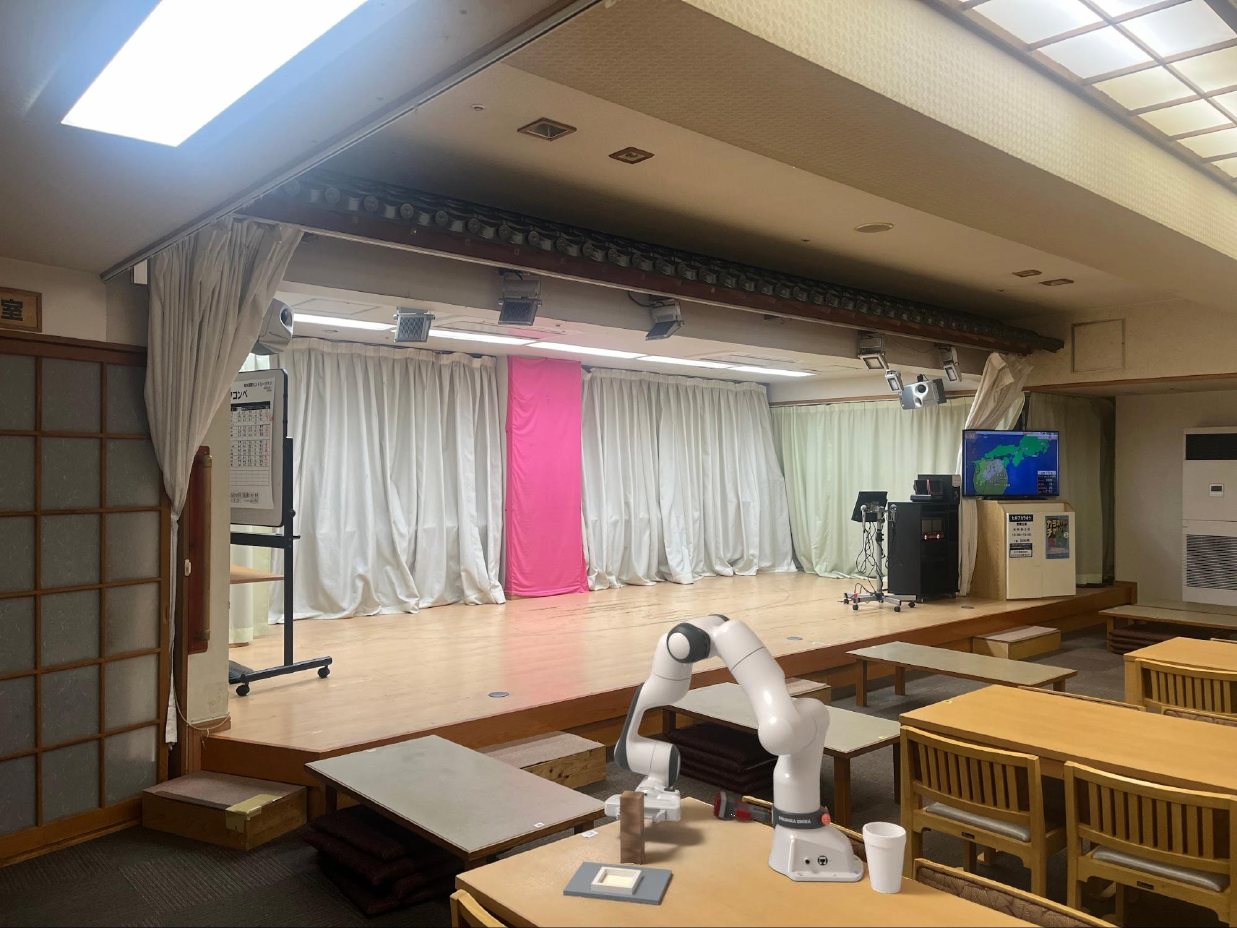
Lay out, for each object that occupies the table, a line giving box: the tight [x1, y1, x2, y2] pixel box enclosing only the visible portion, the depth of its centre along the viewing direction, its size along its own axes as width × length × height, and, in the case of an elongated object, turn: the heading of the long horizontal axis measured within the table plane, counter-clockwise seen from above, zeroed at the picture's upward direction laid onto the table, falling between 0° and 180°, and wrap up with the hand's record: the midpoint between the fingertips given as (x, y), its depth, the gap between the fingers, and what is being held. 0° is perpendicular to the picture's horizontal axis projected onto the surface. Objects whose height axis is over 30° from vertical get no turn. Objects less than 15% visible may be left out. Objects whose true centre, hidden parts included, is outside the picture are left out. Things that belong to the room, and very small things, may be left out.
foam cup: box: [862, 821, 907, 895], centre depth 196 cm, size 10×9×13 cm
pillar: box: [619, 790, 646, 865], centre depth 213 cm, size 5×5×16 cm
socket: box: [591, 867, 641, 895], centre depth 197 cm, size 10×10×2 cm
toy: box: [712, 791, 771, 822], centre depth 240 cm, size 9×6×15 cm
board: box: [562, 861, 673, 906], centre depth 199 cm, size 22×16×1 cm
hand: (636, 818), depth 217 cm, fingers open, 8 cm apart
